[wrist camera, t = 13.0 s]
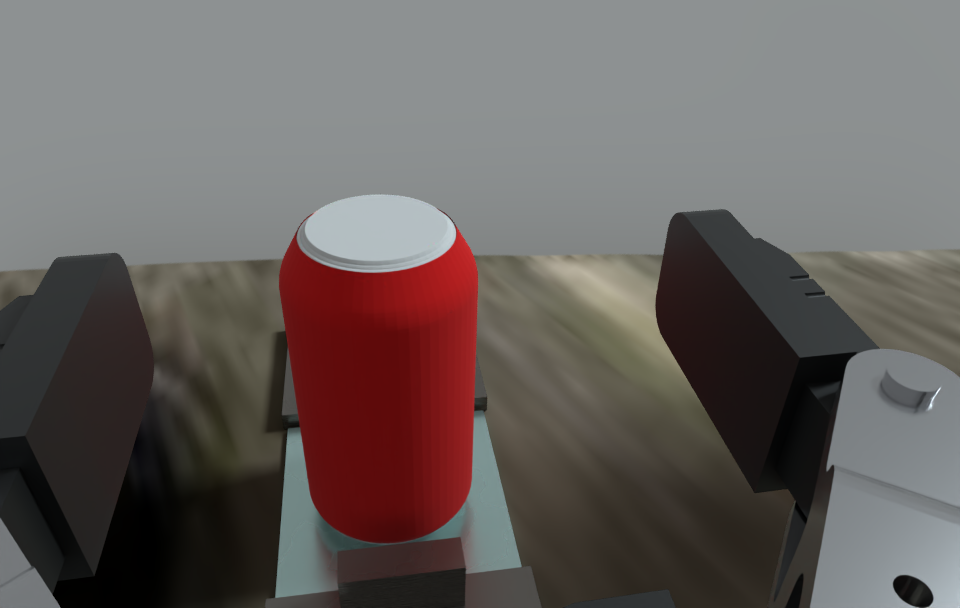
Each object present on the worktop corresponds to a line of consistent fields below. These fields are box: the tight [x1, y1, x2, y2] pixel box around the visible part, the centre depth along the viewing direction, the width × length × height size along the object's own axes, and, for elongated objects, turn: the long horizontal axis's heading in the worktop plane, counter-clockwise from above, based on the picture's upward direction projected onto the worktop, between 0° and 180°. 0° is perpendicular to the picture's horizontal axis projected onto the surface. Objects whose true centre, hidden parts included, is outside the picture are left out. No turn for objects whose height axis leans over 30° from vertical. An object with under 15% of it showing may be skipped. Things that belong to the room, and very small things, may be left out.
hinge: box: [265, 349, 542, 608], centre depth 28 cm, size 9×24×3 cm, turn 9°
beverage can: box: [279, 195, 478, 545], centre depth 26 cm, size 6×6×12 cm
